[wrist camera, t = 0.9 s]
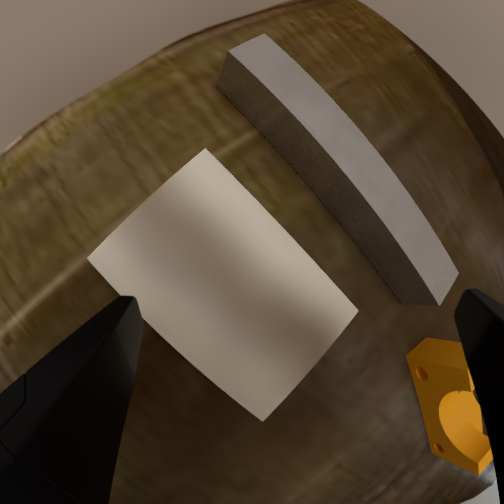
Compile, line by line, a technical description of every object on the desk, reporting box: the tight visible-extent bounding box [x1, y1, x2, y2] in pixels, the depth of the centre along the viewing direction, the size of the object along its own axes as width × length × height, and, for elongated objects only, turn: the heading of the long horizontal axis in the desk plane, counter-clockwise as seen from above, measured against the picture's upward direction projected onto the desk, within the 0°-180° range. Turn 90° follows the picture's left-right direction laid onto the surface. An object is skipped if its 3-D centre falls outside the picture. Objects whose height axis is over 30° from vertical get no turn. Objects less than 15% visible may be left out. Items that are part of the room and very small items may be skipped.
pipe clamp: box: [406, 337, 493, 475], centre depth 19 cm, size 12×4×6 cm, turn 27°
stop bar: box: [216, 34, 459, 306], centre depth 19 cm, size 3×20×4 cm, turn 44°
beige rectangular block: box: [87, 148, 358, 422], centre depth 17 cm, size 8×12×4 cm, turn 46°
